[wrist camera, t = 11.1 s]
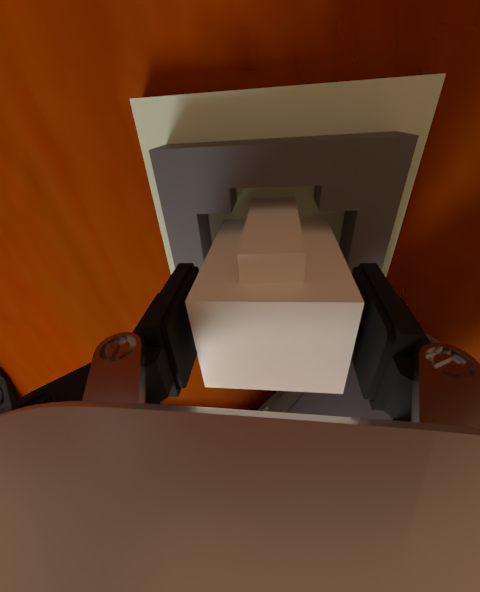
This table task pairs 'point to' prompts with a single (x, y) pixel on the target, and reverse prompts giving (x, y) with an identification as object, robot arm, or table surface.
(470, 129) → the table surface
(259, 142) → the socket board
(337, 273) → the keyed plug
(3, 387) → the hairbrush
